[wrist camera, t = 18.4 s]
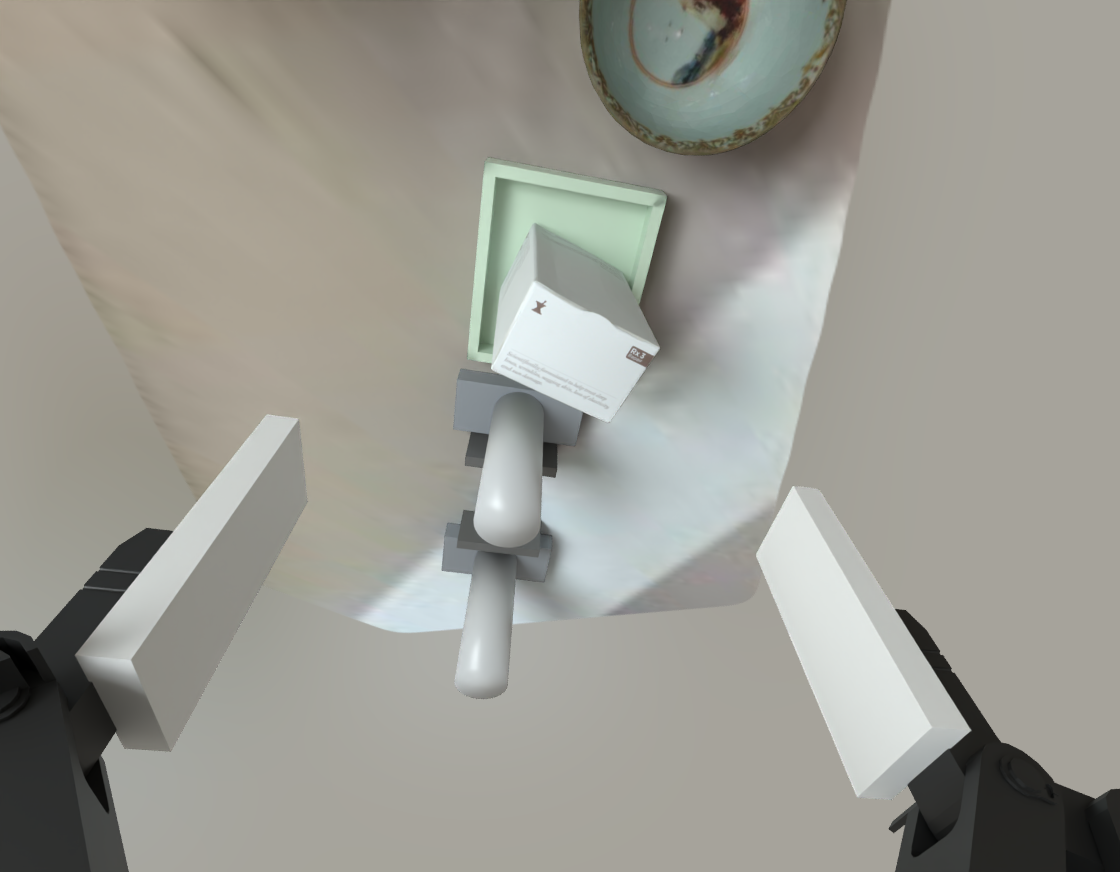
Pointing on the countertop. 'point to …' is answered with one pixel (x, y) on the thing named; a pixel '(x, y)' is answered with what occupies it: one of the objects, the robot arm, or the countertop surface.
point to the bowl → (705, 65)
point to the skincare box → (570, 326)
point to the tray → (556, 230)
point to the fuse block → (502, 514)
